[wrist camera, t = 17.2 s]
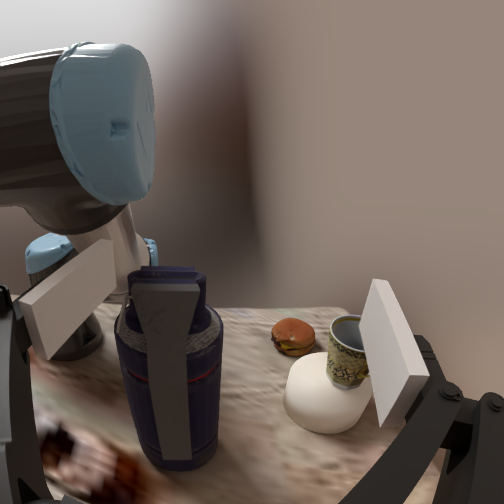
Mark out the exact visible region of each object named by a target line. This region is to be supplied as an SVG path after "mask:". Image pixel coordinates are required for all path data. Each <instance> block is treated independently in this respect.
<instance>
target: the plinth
mask: <svg viewBox="0 0 504 504" xmlns="http://www.w3.org/2000/svg"><path fill="white" fill-rule="evenodd" d="M327 355H328V352H320V353H312V354H308V355H306V356H303V357H301V358H300V359H298V360H297V361H296V362H295V363H294V364H293V366H292V367H291V369H290V373H289V377H288V381H287V385H286V389H285V393H284V399H283V400H284V406H285V409H286V411H287V413H288V415H289V416H290V417H291V418H292V420H294V421H295V422H296V423H297V424H299V425H300V426H302V427H303V428H305V429H307V430H310V431H313V432H316V433H322V434H334V433H340V432H343V431H346V430H348V429H350V428H351V427H353V426H354V425H355V424H356V423H357V422H358V421H359V419H360V417H361V415H362V413H363V411H364V410H365V408H366V406H367V404H368V402H369V400H370V398H371V395H372V392H373V388H372V383H371V378H370V377H367V378H365V379H364V380H363V382H362V383H361V385H360V386H359V387H358V388H354V389H350V390H344V389H342V388H339V387H336V386H334V385H332V384H331V382H330V380H329V378H328V377H327V375H326V367H327ZM367 375H369V373H368V374H367Z"/></svg>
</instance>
